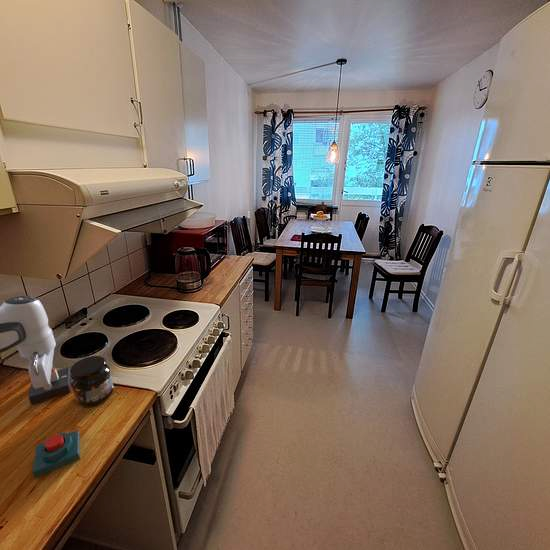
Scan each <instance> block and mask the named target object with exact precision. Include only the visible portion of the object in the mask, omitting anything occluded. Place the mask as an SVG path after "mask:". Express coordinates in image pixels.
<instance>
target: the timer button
mask: <svg viewBox="0 0 550 550" xmlns="http://www.w3.org/2000/svg"><path fill="white" fill-rule="evenodd" d="M46 440H47V441H46ZM46 440H45V441H46V442H45V447H46V450H47V451H48V452H54V451H56V450H58V449H59V448H61V447H62V446H63V444H64V440H63V437H62V435H60V434H59V433H57V435H56V434H54V435H51V436H50V437H48V438H47V439H46Z"/></svg>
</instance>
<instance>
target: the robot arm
mask: <svg viewBox="0 0 550 550" xmlns="http://www.w3.org/2000/svg"><path fill="white" fill-rule="evenodd" d="M56 346H57V343H56V339H55V336H54V331H53V329H52V328H51V327H50V326H49V317H48V314H47V312H46V310H45V307H44V305H43V304H42V302H41V301H40V300H39V298H36V297H34V296H30V295H19V296H13V297H9V298H6V299H5V300H4V301H3V303H2V304H1V305H0V354H2V353H5V352H7V351H9V350H11V349H12V348H14V347H16V348H17V351H18V354H19V356H20V357H21V358H23V359H27V360H29V362H28V367H27V369H28V375H29V378H30V381H31V382H32V385H33V387H34V388H35V389H38V388H42V387H44V390H48V389H51V387H52V384H51V381H50V377H51V370H52V369H54V367H53V361H54V354H55V348H56Z"/></svg>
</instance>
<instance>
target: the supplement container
mask: <svg viewBox="0 0 550 550" xmlns="http://www.w3.org/2000/svg"><path fill="white" fill-rule="evenodd" d="M69 369H70V370H69V373H70V377H71V378H70V384H71V388H72V391H73V394H74V397H75V401H76V404H78V405H79V406H81V407H85V408H88V407H94V406H98V405H100V404H101V403H104V402H105V401H106V400H108V399H109V398H110V397H111V396H112V395H113V393H114V390H115V385H114V383H113V378H112V374H111V369H110V366H109V364H107V361H106V359H105V358H104V356H102V355H101V356H100V355H91V356H86V357H84V358H82V359H79V360H77V361H76V362H74V364H72V365H71V366H70V367H69Z"/></svg>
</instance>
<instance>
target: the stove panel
mask: <svg viewBox="0 0 550 550" xmlns="http://www.w3.org/2000/svg"><path fill="white" fill-rule="evenodd" d="M69 370H70V367H69V366H68V367H65V368H60V369H56V371H57V374H58V377H59V379H58V380H56V381H53V382H51V384H52V387H51V389H48V390H44V387H42V388H38V389H35V388H34V387H33V385H32V382H31V383H30V388H29V393H28V399H29V403H30V405H32V406H33V405H35V404H36V405H37V404H38V403H42V402H44V401H47V400H51V399H54V398H57V397H60V396H62V395H66V394H69V393H71V390H72V389H71V388H72V386H71V384H70V378H71V377H70V373H69Z"/></svg>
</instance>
